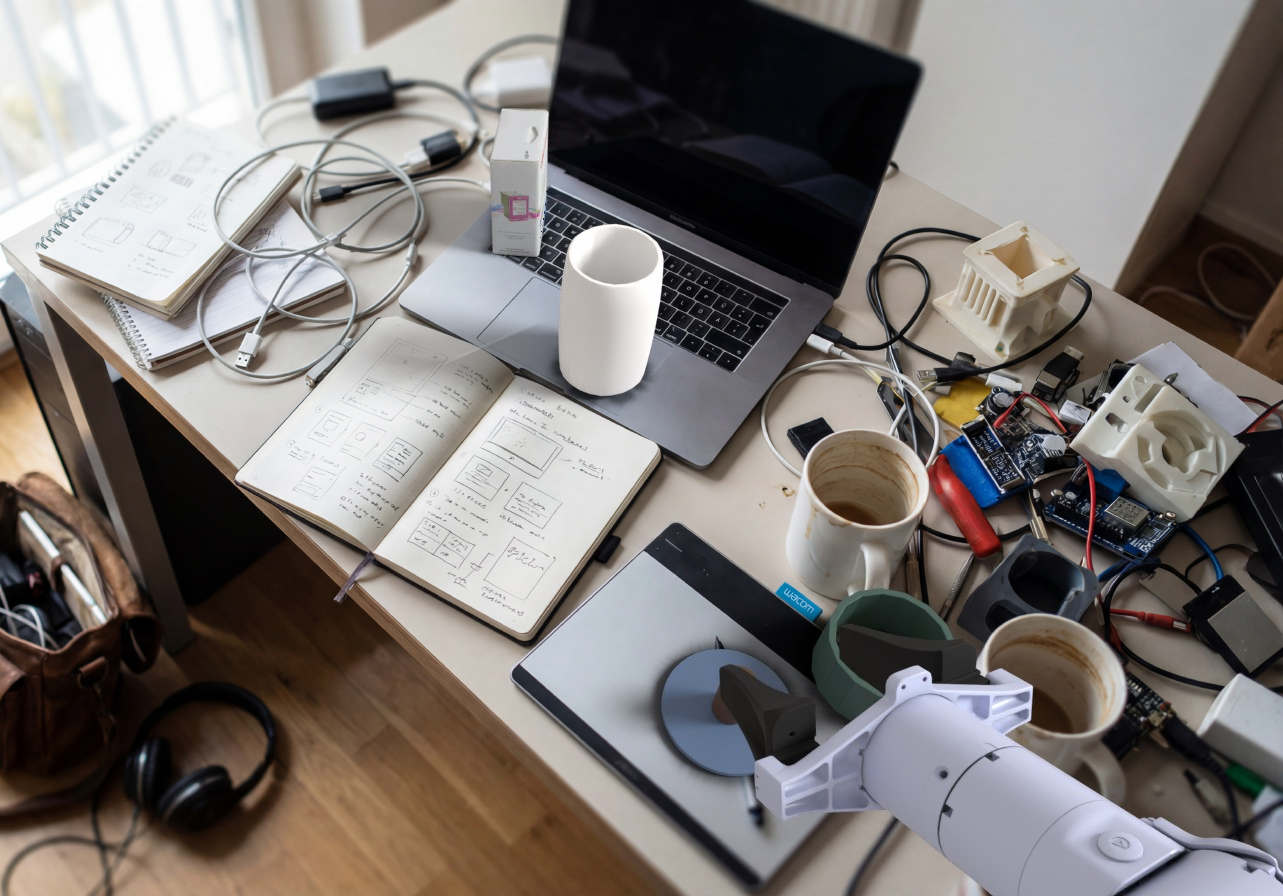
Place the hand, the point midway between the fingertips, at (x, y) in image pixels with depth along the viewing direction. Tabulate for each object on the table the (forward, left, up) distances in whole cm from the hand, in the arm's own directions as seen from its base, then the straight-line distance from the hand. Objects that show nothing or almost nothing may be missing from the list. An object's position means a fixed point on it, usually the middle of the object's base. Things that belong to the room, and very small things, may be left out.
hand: (786, 660), depth 55 cm
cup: (+36, -14, -19) cm, 43 cm away
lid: (+4, -3, -19) cm, 19 cm away
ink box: (+57, -18, -19) cm, 63 cm away
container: (+1, -14, -19) cm, 24 cm away
